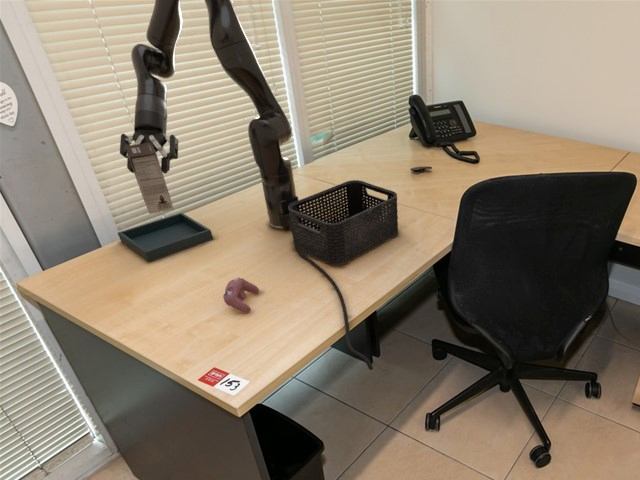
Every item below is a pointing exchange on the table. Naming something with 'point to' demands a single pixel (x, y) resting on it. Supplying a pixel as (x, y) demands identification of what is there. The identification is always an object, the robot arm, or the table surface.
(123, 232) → the tray
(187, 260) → the table surface
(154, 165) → the coffee box
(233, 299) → the video game controller
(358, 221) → the storage bin
